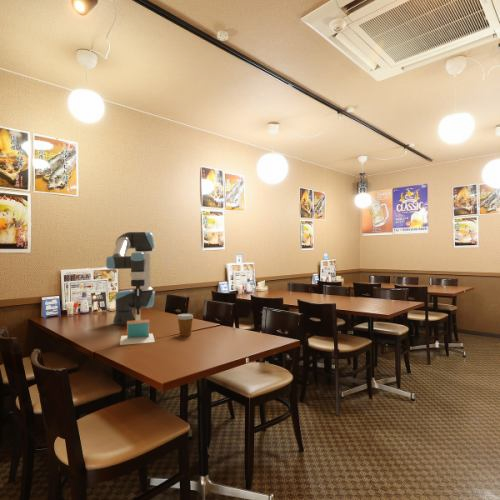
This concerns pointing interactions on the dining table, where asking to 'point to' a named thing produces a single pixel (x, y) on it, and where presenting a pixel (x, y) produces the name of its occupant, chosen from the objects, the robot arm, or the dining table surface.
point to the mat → (136, 340)
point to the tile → (137, 328)
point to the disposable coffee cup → (185, 324)
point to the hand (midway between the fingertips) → (138, 320)
